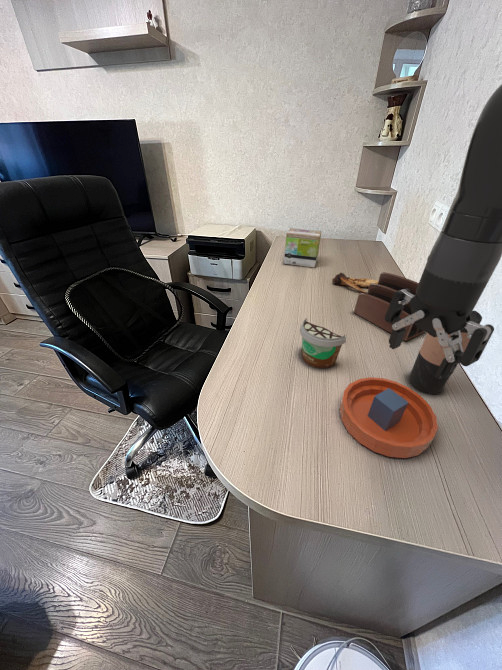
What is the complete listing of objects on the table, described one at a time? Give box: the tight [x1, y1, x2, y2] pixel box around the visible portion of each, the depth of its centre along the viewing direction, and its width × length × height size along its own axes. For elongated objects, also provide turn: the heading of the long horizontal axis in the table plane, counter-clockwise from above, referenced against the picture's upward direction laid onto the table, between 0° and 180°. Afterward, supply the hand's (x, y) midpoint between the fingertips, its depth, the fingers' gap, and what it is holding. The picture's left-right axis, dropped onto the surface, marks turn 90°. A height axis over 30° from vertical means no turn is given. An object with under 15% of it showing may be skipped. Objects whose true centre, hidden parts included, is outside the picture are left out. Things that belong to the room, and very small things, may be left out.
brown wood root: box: [331, 272, 379, 294], centre depth 111 cm, size 9×5×18 cm
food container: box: [299, 317, 347, 369], centre depth 71 cm, size 12×6×10 cm, turn 47°
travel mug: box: [408, 310, 483, 395], centre depth 62 cm, size 8×8×20 cm
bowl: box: [339, 377, 439, 459], centre depth 57 cm, size 18×18×4 cm
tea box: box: [283, 227, 322, 268], centre depth 131 cm, size 15×10×15 cm, turn 73°
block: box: [367, 388, 409, 431], centre depth 56 cm, size 4×4×6 cm
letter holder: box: [353, 271, 426, 342], centre depth 86 cm, size 10×20×14 cm, turn 31°
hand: (415, 360), depth 47 cm, fingers open, 8 cm apart
